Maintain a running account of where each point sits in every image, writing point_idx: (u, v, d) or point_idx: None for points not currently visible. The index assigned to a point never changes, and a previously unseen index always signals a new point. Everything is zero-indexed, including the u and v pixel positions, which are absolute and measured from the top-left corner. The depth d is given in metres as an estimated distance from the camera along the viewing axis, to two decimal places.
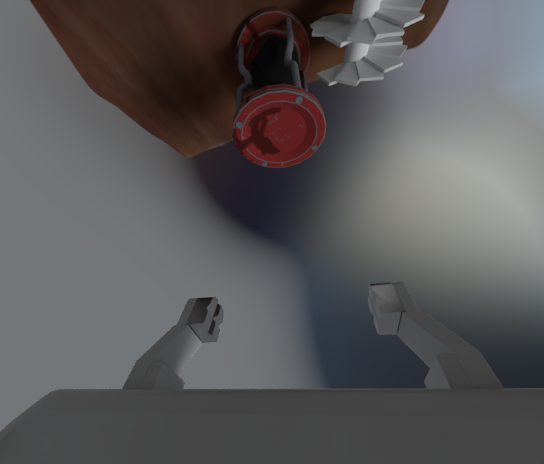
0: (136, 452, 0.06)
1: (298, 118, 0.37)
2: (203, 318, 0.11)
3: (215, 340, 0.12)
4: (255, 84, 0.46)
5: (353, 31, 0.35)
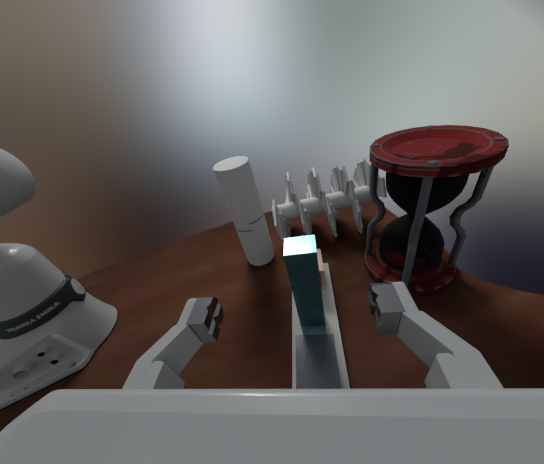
0: (136, 452, 0.06)
1: (400, 145, 0.35)
2: (203, 318, 0.11)
3: (215, 340, 0.12)
4: (426, 243, 0.38)
5: (345, 185, 0.50)
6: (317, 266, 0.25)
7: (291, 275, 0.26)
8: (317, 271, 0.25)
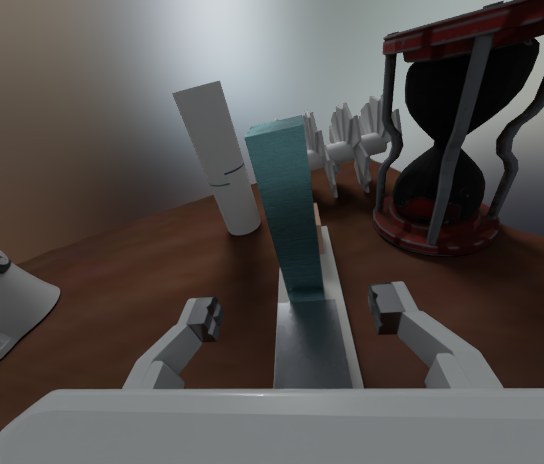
0: (136, 452, 0.06)
1: None
2: (203, 318, 0.11)
3: (215, 340, 0.12)
4: (463, 180, 0.27)
5: (348, 127, 0.39)
6: (306, 161, 0.14)
7: (263, 186, 0.15)
8: (306, 174, 0.15)
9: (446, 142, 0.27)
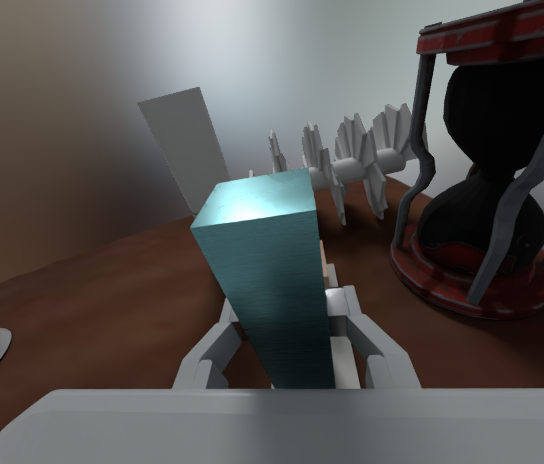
0: (136, 452, 0.06)
1: None
2: None
3: None
4: (522, 225, 0.20)
5: (360, 143, 0.32)
6: (318, 268, 0.07)
7: (237, 299, 0.08)
8: (318, 285, 0.08)
9: (499, 173, 0.20)
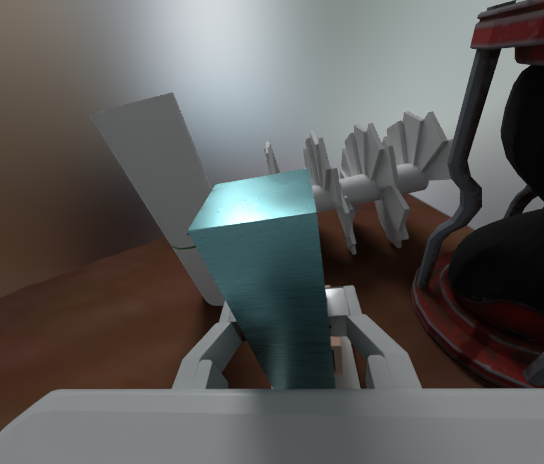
0: (136, 453, 0.06)
1: None
2: None
3: None
4: None
5: (375, 159, 0.26)
6: (319, 271, 0.07)
7: (236, 302, 0.08)
8: (319, 288, 0.07)
9: None
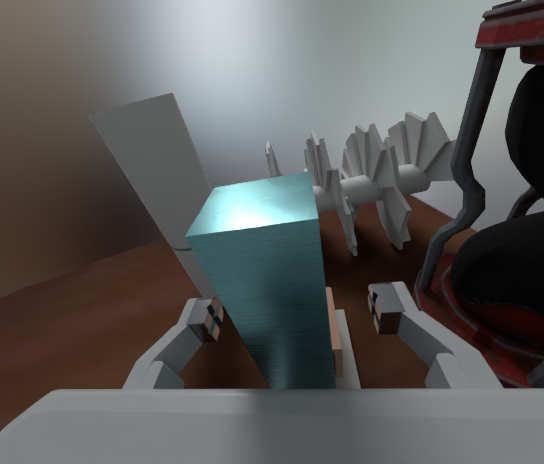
0: (136, 452, 0.06)
1: None
2: (203, 318, 0.11)
3: (215, 340, 0.12)
4: None
5: (376, 160, 0.26)
6: (320, 278, 0.07)
7: (235, 308, 0.08)
8: (320, 295, 0.07)
9: None
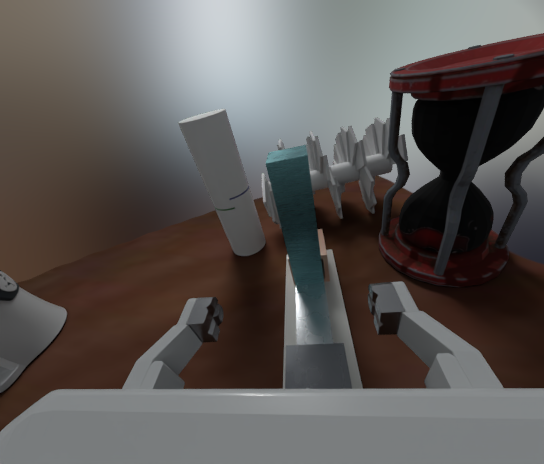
0: (136, 452, 0.06)
1: None
2: (203, 318, 0.11)
3: (215, 340, 0.12)
4: (471, 213, 0.27)
5: (353, 150, 0.39)
6: (309, 179, 0.20)
7: (278, 197, 0.21)
8: (309, 188, 0.20)
9: (454, 174, 0.27)
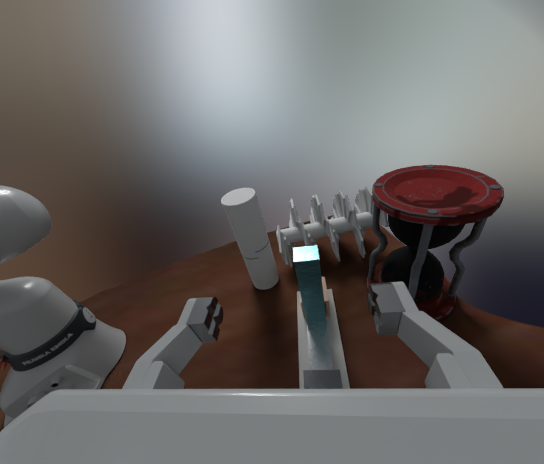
0: (136, 452, 0.06)
1: (402, 185, 0.37)
2: (203, 318, 0.11)
3: (215, 340, 0.12)
4: (427, 276, 0.39)
5: (348, 213, 0.51)
6: (319, 270, 0.32)
7: (299, 277, 0.33)
8: (319, 274, 0.32)
9: (416, 250, 0.40)
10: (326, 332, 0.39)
